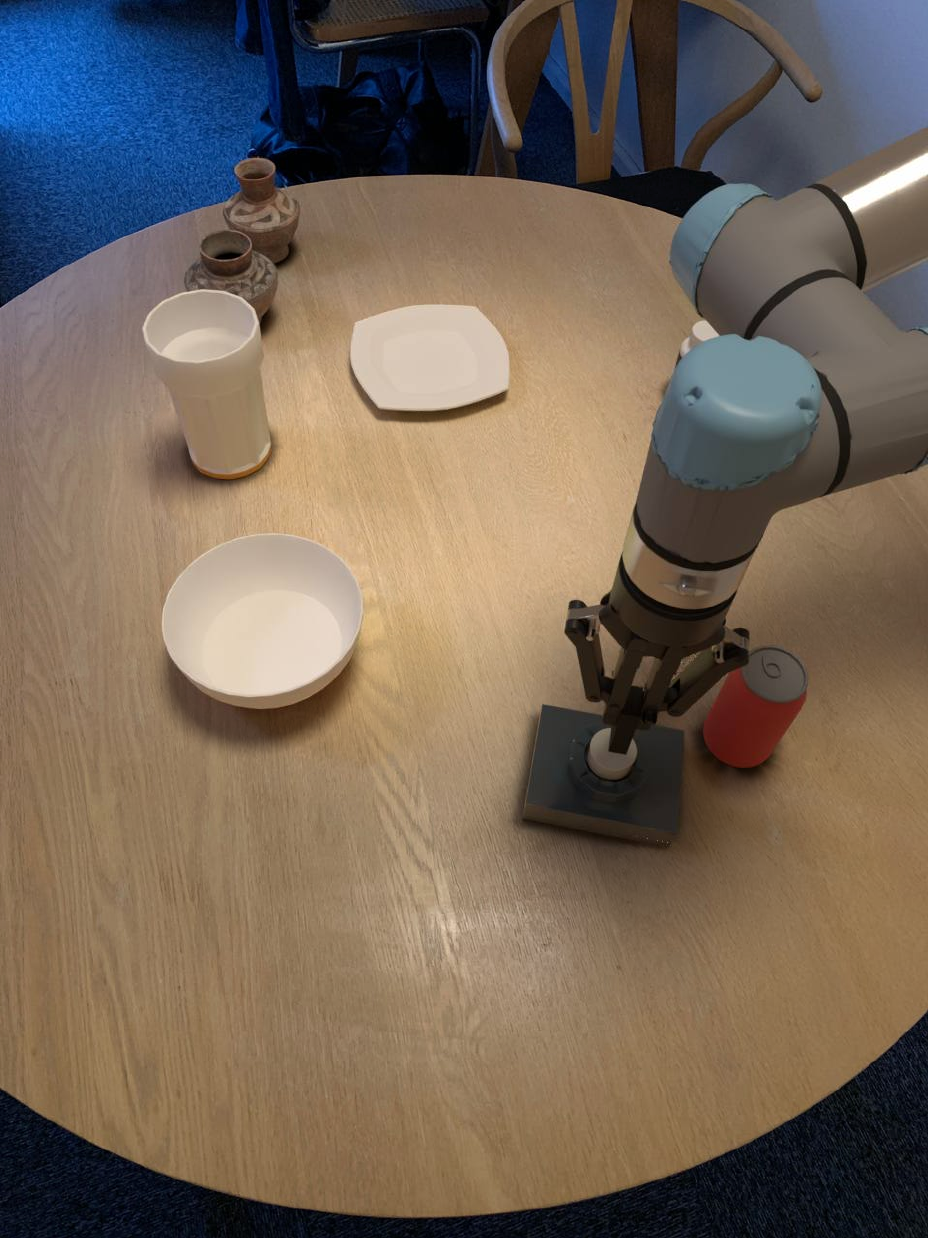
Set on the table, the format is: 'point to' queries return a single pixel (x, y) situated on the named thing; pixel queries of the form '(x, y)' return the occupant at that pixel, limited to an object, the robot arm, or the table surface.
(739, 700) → the beer can
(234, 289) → the pottery
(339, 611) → the bowl
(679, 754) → the beige button cap base
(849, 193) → the robot arm
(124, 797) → the table surface
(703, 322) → the pill bottle
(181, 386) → the cup
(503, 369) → the plate
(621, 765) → the beige button cap
